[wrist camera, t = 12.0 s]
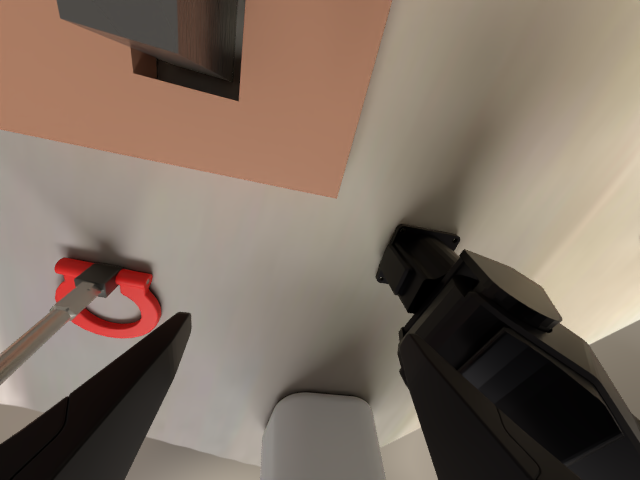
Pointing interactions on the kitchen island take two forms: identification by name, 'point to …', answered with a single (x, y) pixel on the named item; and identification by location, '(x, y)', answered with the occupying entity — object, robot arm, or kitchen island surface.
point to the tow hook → (71, 306)
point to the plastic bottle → (321, 440)
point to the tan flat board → (196, 106)
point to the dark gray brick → (165, 29)
